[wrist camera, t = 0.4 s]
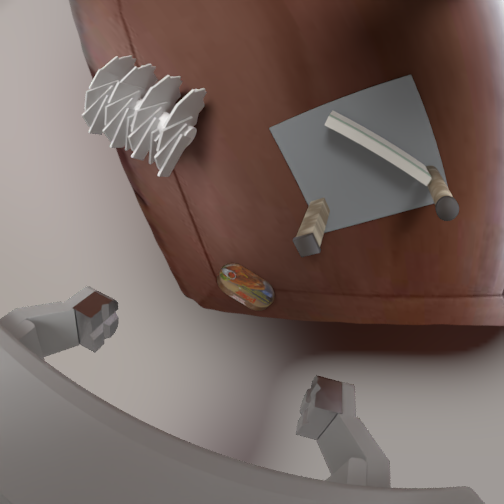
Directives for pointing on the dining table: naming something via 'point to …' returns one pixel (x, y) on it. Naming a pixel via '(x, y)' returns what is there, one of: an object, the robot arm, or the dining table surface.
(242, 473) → the robot arm
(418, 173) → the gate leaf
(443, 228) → the dining table surface
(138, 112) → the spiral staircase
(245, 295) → the tin
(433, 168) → the gate posts
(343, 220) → the mat
